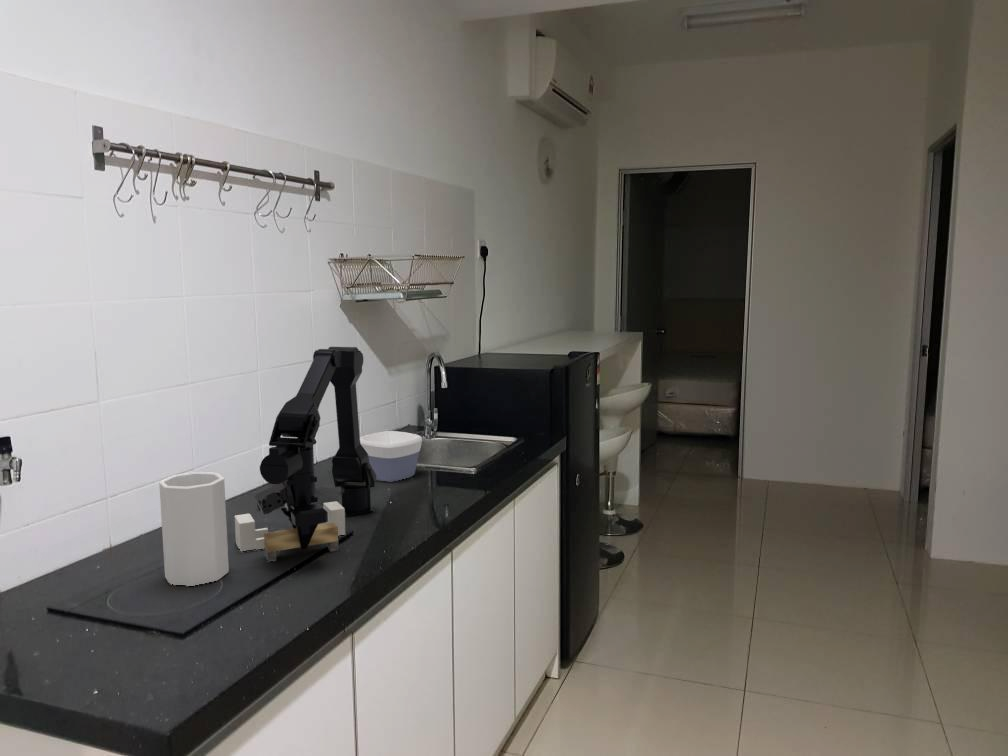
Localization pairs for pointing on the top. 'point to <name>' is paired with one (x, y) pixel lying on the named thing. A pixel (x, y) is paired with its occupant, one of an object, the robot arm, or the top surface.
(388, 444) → the bowl
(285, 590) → the top surface
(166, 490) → the cup
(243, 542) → the stepped white cradle
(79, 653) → the top surface
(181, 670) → the top surface
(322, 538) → the rail
